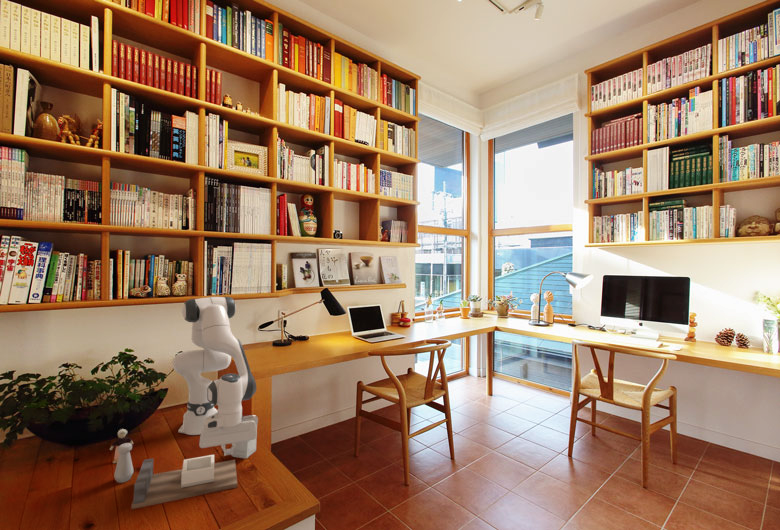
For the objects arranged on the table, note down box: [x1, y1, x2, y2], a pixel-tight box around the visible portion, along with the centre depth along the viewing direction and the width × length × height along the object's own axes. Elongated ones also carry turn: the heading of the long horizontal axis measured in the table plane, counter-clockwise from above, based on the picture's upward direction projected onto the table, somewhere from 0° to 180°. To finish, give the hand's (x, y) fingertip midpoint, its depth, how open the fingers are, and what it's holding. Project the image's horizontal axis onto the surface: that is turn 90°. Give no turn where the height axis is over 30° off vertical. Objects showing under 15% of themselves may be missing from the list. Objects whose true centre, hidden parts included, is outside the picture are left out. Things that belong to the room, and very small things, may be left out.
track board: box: [130, 457, 238, 510], centre depth 134 cm, size 18×32×8 cm, turn 116°
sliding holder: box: [181, 454, 215, 488], centre depth 136 cm, size 10×10×5 cm
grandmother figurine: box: [109, 428, 134, 464], centre depth 149 cm, size 8×4×13 cm, turn 143°
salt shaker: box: [113, 442, 134, 484], centre depth 136 cm, size 6×6×13 cm
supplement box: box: [231, 424, 258, 459], centre depth 157 cm, size 7×7×13 cm
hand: (228, 454), depth 140 cm, fingers closed
